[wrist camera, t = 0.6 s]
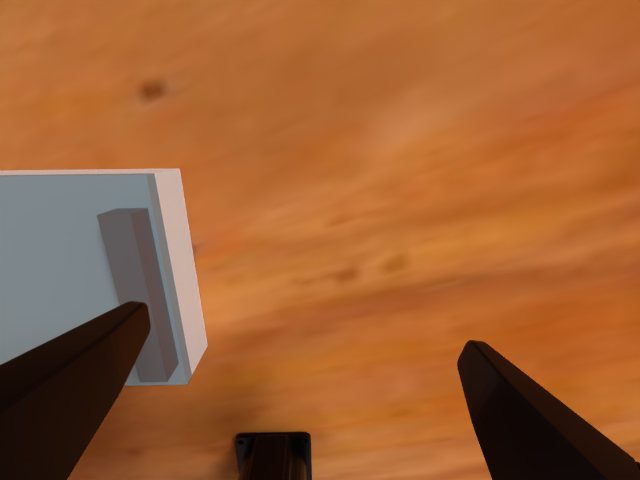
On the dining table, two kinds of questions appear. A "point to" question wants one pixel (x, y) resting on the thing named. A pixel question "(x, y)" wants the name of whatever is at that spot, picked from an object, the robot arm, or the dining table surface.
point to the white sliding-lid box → (177, 245)
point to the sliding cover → (87, 265)
